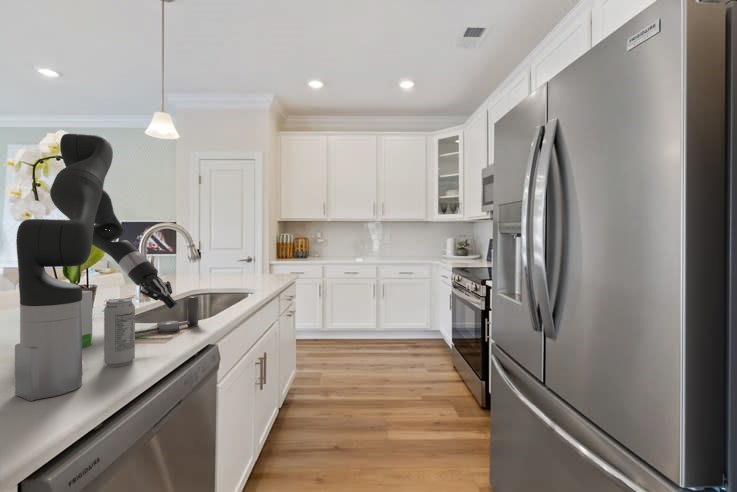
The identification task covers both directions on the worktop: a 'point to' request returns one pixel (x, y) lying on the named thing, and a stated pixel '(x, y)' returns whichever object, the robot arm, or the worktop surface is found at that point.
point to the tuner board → (160, 335)
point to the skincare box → (86, 318)
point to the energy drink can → (119, 332)
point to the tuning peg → (174, 325)
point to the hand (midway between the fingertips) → (173, 306)
